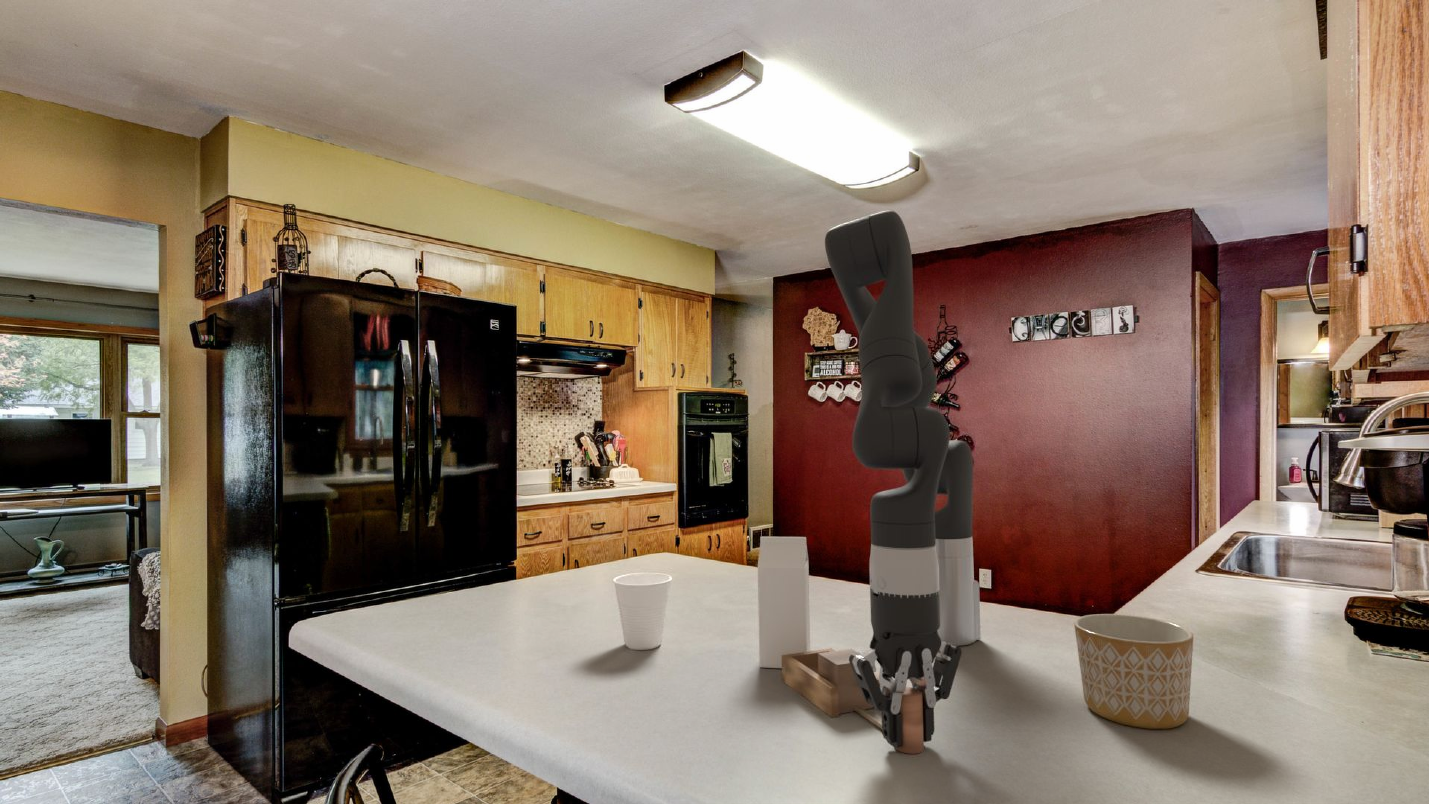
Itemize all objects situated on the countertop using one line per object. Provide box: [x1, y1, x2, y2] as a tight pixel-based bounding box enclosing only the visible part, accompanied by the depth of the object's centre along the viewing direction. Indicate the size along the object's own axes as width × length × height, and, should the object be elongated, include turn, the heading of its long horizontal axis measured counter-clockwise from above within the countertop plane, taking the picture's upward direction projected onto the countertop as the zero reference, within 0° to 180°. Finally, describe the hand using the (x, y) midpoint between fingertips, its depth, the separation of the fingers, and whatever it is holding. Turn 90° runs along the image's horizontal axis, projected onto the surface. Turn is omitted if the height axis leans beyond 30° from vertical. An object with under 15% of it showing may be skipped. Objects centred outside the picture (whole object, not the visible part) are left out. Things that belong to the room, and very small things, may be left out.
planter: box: [1073, 613, 1194, 730], centre depth 86 cm, size 13×13×10 cm
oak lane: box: [781, 647, 880, 718], centre depth 94 cm, size 14×8×4 cm, turn 20°
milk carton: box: [757, 536, 811, 669], centre depth 108 cm, size 7×7×19 cm
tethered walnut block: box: [818, 648, 925, 755], centre depth 84 cm, size 18×5×6 cm, turn 20°
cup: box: [612, 572, 673, 651], centre depth 117 cm, size 10×10×11 cm
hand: (908, 740), depth 78 cm, fingers closed on tethered walnut block, 3 cm apart
